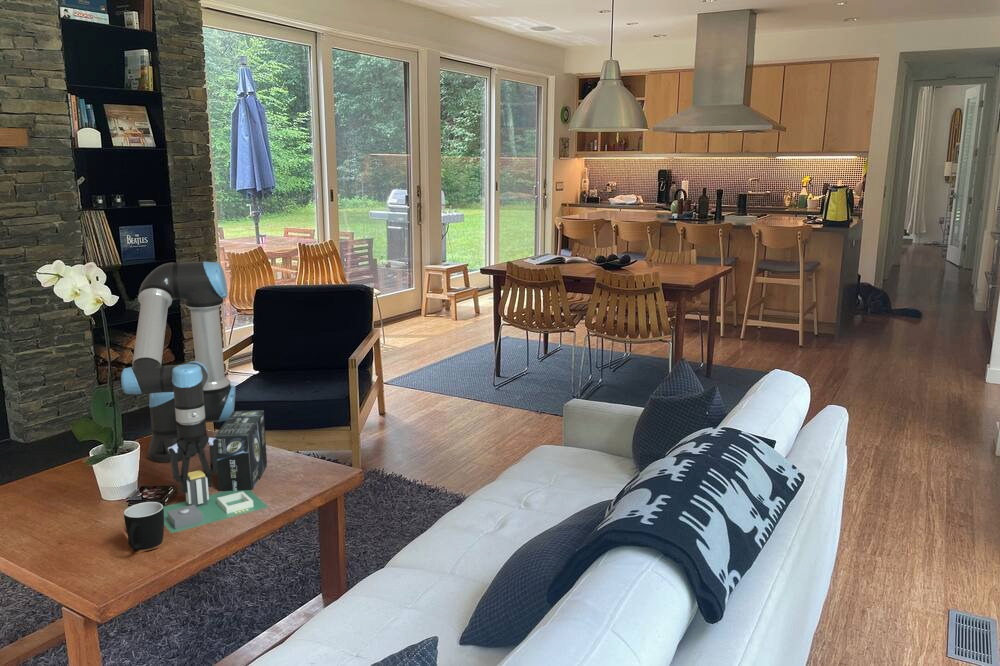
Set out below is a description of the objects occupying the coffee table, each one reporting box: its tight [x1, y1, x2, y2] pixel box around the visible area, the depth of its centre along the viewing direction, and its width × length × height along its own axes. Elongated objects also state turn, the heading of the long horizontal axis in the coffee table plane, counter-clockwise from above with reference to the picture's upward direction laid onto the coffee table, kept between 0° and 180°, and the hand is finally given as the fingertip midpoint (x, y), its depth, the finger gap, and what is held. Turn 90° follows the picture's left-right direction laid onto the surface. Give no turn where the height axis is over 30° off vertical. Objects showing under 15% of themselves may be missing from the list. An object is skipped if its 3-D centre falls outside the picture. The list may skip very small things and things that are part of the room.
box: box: [213, 409, 268, 492], centre depth 233 cm, size 23×10×19 cm, turn 6°
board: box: [163, 490, 269, 534], centre depth 212 cm, size 18×26×4 cm
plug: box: [187, 469, 207, 507], centre depth 213 cm, size 5×4×9 cm
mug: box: [123, 501, 165, 553], centre depth 190 cm, size 12×9×10 cm
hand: (197, 500), depth 214 cm, fingers closed on plug, 4 cm apart
